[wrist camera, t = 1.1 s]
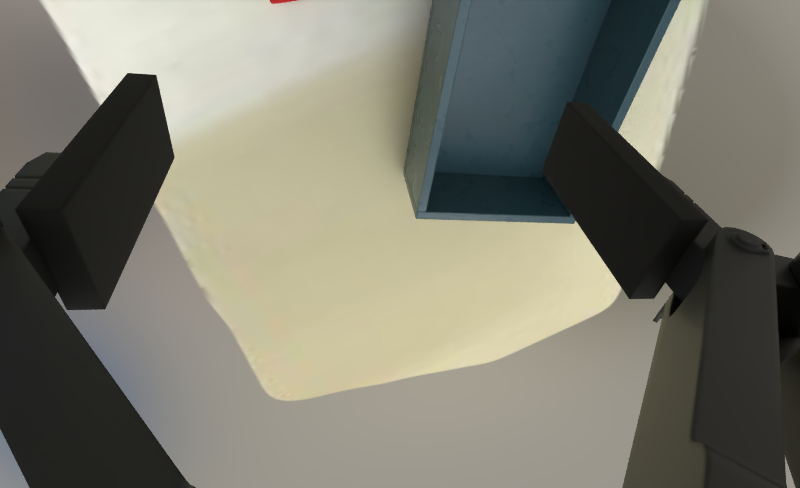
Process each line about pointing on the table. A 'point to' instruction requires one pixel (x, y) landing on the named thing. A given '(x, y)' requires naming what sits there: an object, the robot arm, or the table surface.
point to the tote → (518, 97)
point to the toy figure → (280, 1)
